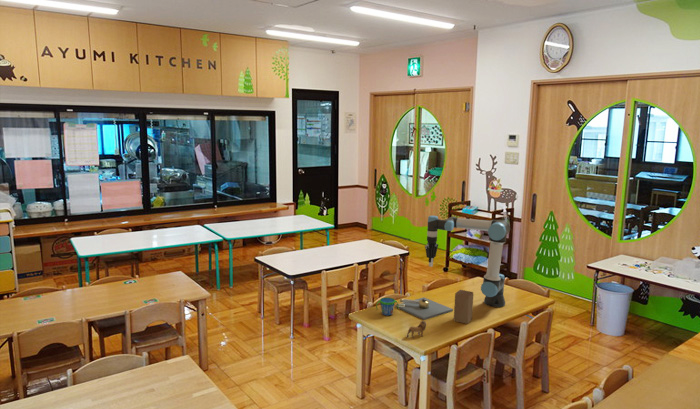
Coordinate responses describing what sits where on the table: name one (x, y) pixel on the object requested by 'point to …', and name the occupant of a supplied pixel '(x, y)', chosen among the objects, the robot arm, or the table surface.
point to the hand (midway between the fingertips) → (430, 266)
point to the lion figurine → (417, 329)
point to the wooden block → (463, 306)
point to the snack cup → (387, 305)
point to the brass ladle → (417, 302)
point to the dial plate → (424, 309)
